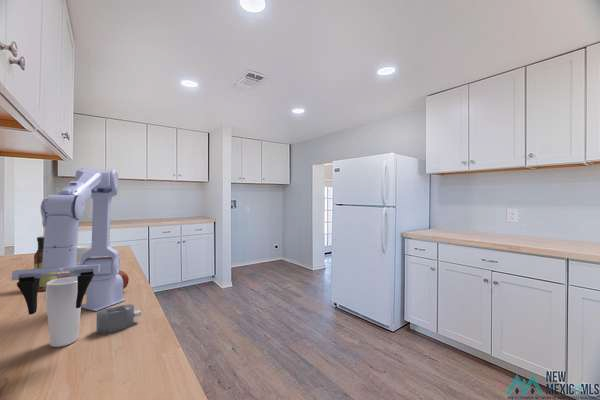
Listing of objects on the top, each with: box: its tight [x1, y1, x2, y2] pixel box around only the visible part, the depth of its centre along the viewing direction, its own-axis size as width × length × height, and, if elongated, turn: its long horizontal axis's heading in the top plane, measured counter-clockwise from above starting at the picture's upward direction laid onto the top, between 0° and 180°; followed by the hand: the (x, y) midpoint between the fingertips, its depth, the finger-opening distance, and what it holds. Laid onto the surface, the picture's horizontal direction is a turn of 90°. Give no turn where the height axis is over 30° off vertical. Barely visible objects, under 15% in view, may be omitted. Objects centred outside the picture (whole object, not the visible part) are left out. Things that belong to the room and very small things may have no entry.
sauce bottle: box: [33, 235, 58, 292], centre depth 102 cm, size 6×6×20 cm
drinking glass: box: [45, 276, 82, 348], centre depth 66 cm, size 7×7×15 cm
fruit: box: [118, 270, 130, 290], centre depth 99 cm, size 8×8×10 cm
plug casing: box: [95, 303, 142, 336], centre depth 74 cm, size 10×4×5 cm, turn 134°
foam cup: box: [73, 243, 97, 263], centre depth 120 cm, size 10×9×13 cm
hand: (56, 310), depth 59 cm, fingers open, 7 cm apart
